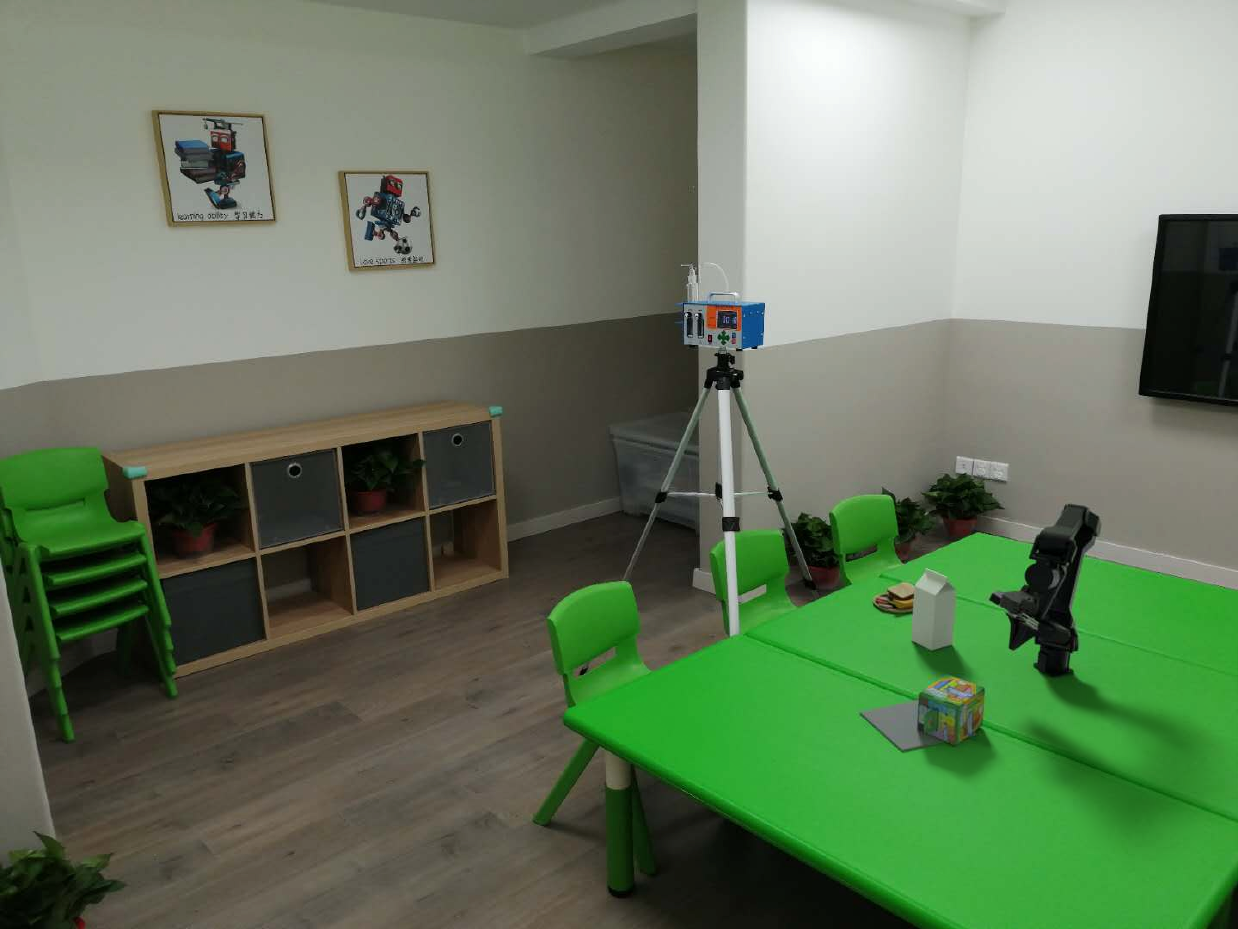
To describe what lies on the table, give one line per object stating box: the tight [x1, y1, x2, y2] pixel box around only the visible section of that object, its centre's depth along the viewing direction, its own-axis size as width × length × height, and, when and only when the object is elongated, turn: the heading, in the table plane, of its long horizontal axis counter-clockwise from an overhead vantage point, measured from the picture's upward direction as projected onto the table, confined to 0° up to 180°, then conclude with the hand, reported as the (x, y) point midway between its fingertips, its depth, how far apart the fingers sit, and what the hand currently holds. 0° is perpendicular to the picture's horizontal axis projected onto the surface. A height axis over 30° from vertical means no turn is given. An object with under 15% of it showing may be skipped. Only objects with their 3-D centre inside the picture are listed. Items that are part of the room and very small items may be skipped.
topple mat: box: [859, 699, 978, 752], centre depth 201 cm, size 18×16×1 cm
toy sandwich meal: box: [872, 581, 916, 614], centre depth 261 cm, size 12×14×5 cm
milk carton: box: [910, 568, 957, 652], centre depth 235 cm, size 7×7×19 cm
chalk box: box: [917, 674, 986, 746], centre depth 196 cm, size 9×9×15 cm
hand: (1011, 649), depth 208 cm, fingers closed
